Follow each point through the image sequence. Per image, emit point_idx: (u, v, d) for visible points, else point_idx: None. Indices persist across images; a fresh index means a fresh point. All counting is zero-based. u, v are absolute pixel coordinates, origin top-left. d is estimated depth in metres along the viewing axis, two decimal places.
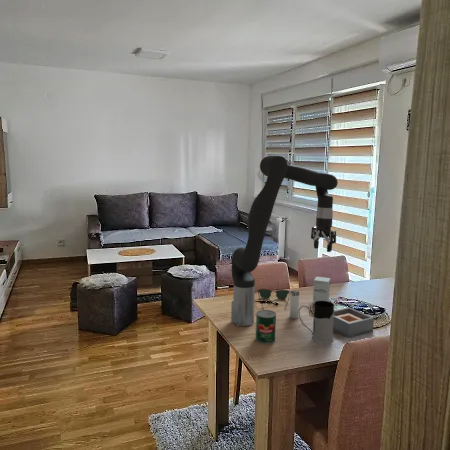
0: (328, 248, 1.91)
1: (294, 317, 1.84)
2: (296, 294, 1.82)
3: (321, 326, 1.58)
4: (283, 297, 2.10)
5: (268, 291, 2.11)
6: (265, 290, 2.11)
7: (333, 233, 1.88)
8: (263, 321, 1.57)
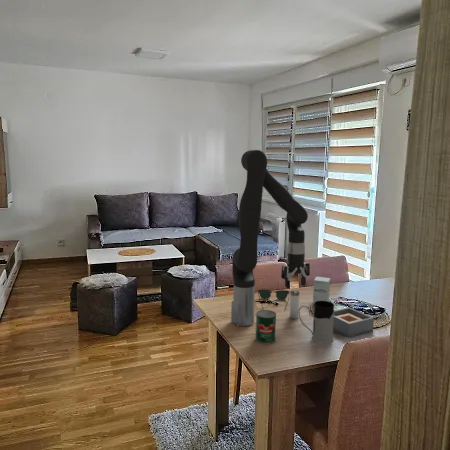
0: (304, 281, 1.85)
1: (294, 317, 1.84)
2: (296, 294, 1.82)
3: (321, 326, 1.58)
4: (283, 297, 2.10)
5: (268, 291, 2.10)
6: (265, 290, 2.11)
7: None
8: (263, 321, 1.57)
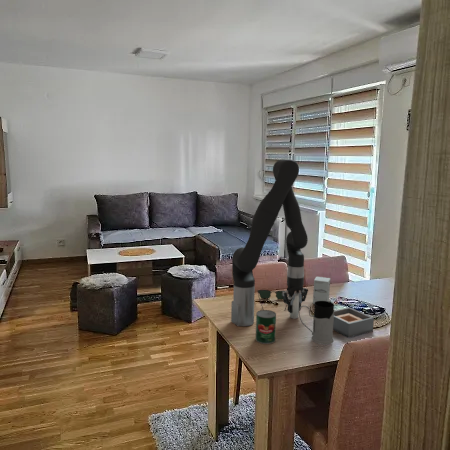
0: None
1: (294, 317, 1.84)
2: (296, 294, 1.82)
3: (321, 326, 1.58)
4: None
5: (268, 292, 2.10)
6: (265, 291, 2.10)
7: None
8: (263, 321, 1.57)
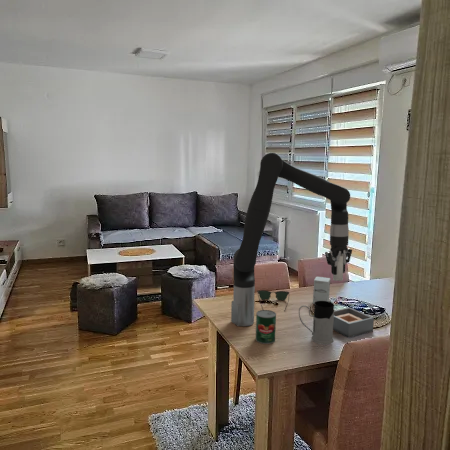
0: (344, 269, 1.74)
1: (339, 279, 1.72)
2: None
3: (321, 326, 1.58)
4: (283, 298, 2.09)
5: (268, 292, 2.09)
6: (265, 291, 2.09)
7: None
8: (263, 321, 1.57)
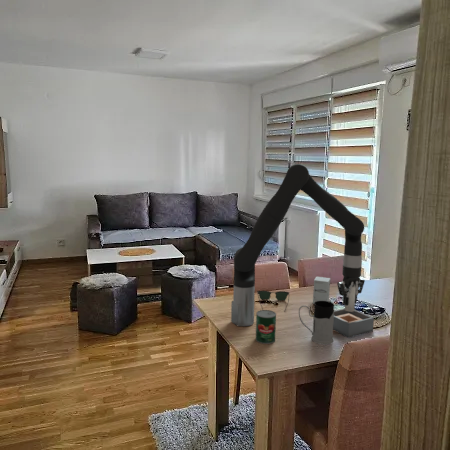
0: (356, 299, 1.72)
1: (350, 310, 1.70)
2: (353, 285, 1.69)
3: (321, 326, 1.58)
4: (283, 298, 2.08)
5: (267, 292, 2.09)
6: (264, 291, 2.09)
7: None
8: (263, 321, 1.57)
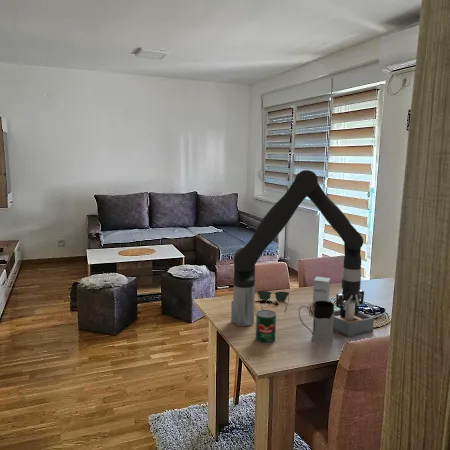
0: (357, 311, 1.74)
1: None
2: (352, 302, 1.70)
3: (321, 326, 1.58)
4: (283, 299, 2.08)
5: (267, 293, 2.08)
6: (264, 292, 2.08)
7: None
8: (263, 321, 1.57)
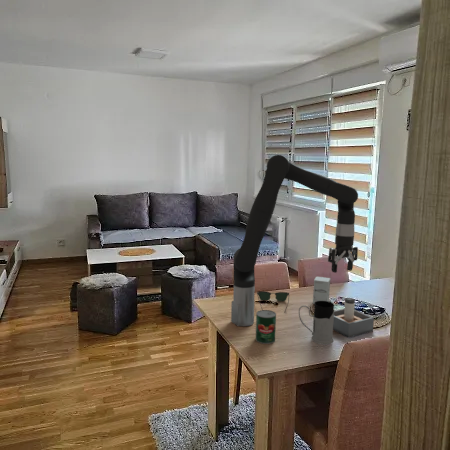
0: (351, 266, 1.74)
1: None
2: (352, 302, 1.70)
3: (321, 326, 1.58)
4: (283, 299, 2.07)
5: (267, 293, 2.07)
6: (264, 292, 2.08)
7: None
8: (263, 321, 1.57)
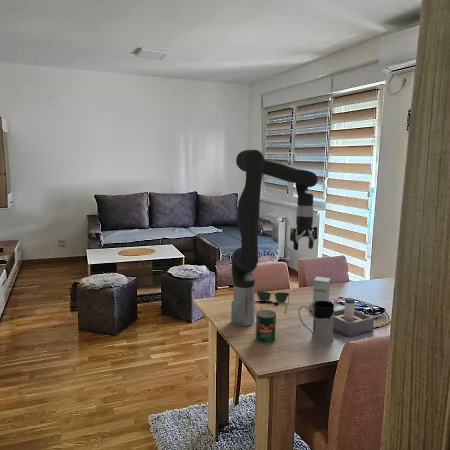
0: (312, 245, 1.90)
1: None
2: (352, 302, 1.70)
3: (321, 326, 1.58)
4: (282, 300, 2.06)
5: (267, 294, 2.07)
6: (264, 293, 2.07)
7: None
8: (263, 321, 1.57)
